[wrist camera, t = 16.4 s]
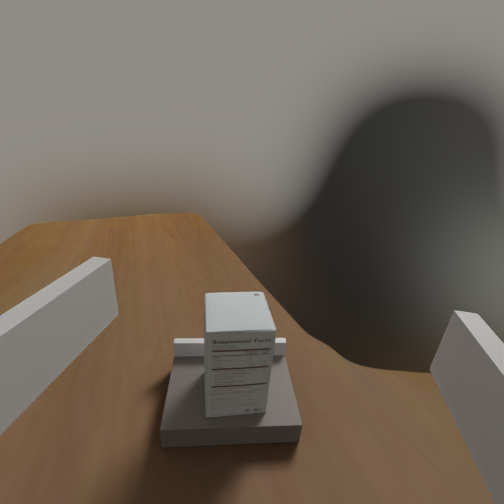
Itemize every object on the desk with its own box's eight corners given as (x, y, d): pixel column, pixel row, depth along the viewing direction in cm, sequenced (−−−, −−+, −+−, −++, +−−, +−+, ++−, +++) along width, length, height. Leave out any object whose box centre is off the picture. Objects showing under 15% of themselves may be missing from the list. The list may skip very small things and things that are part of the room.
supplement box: (203, 370, 41) (204, 290, 36) (257, 367, 42) (265, 289, 37) (203, 420, 34) (204, 331, 29) (267, 414, 35) (278, 328, 30)
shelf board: (280, 363, 47) (284, 336, 45) (298, 441, 36) (305, 410, 34) (176, 364, 45) (175, 336, 43) (161, 447, 34) (158, 415, 32)
